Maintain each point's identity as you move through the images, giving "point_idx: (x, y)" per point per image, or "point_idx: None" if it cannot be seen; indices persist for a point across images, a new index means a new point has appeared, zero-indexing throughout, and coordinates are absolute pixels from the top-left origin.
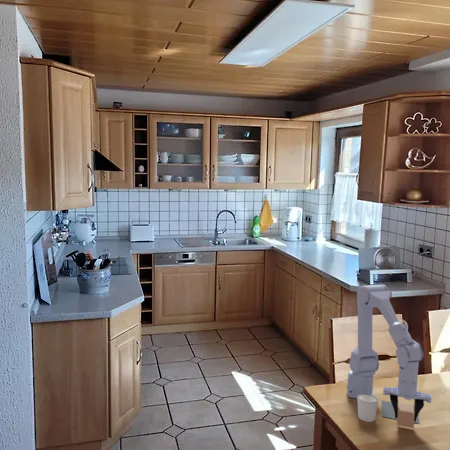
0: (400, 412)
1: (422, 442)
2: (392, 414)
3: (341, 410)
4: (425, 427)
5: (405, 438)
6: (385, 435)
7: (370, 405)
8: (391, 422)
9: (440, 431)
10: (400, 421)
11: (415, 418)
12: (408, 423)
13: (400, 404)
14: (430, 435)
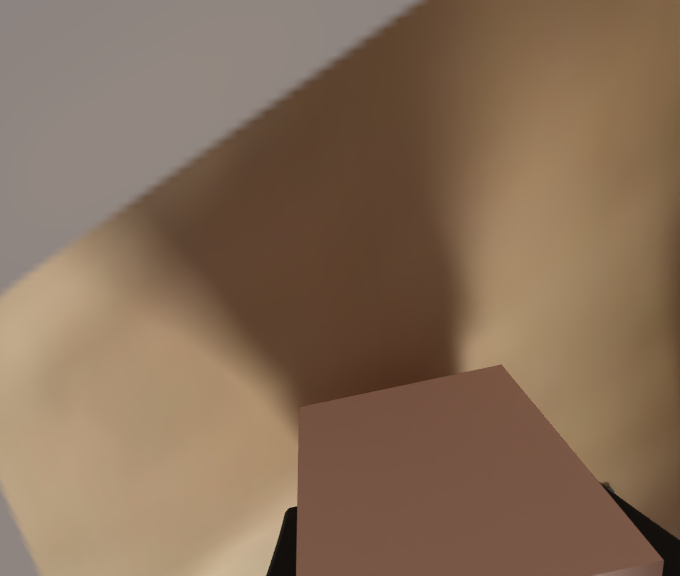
0: (584, 540)
1: (173, 254)
2: None
3: None
4: (216, 536)
5: (365, 228)
6: (594, 157)
7: None
8: None
9: (77, 548)
10: (487, 409)
11: (286, 553)
12: (372, 427)
13: None
14: (137, 437)
